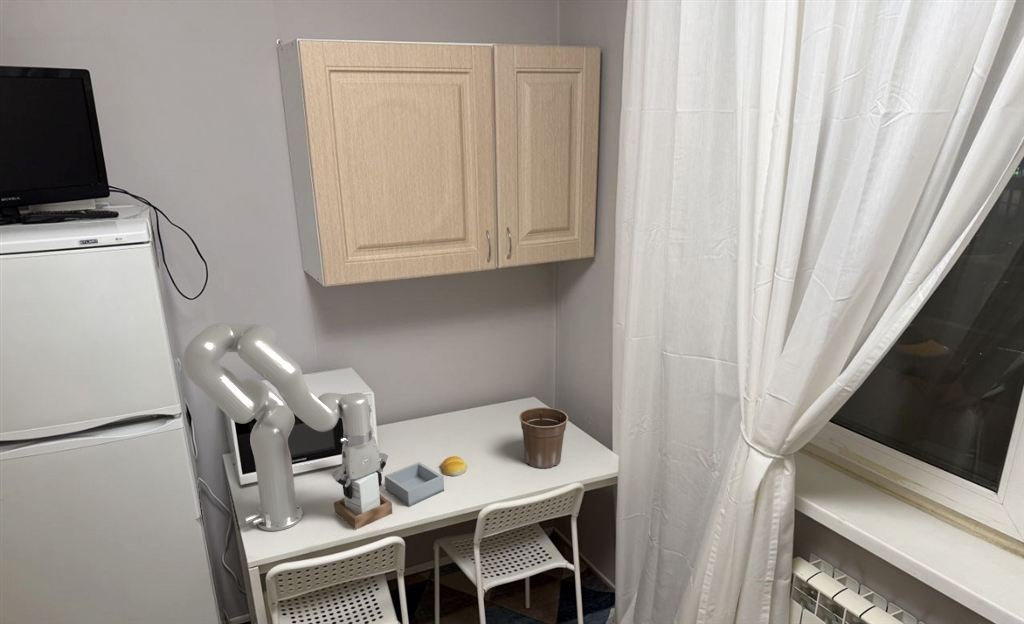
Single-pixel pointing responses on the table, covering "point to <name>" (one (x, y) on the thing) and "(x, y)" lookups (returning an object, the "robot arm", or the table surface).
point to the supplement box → (363, 494)
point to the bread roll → (454, 466)
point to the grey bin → (414, 483)
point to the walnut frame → (365, 517)
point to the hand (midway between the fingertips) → (363, 490)
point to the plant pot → (543, 435)
